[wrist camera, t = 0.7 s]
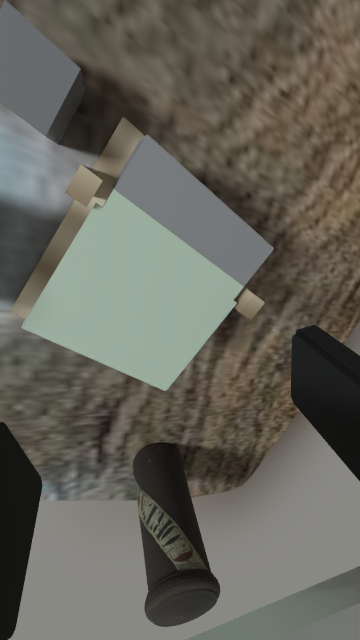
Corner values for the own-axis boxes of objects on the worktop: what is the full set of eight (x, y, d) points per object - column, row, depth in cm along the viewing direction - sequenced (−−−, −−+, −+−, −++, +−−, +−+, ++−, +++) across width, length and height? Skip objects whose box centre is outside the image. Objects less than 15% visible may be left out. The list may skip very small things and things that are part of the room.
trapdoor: (133, 137, 23) (140, 128, 18) (251, 240, 29) (278, 252, 24) (34, 302, 27) (20, 327, 22) (157, 362, 33) (165, 391, 28)
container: (159, 433, 47) (193, 586, 29) (191, 456, 51) (237, 601, 34) (119, 463, 48) (129, 629, 30) (154, 483, 52) (180, 638, 35)
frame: (119, 115, 27) (129, 78, 17) (246, 228, 35) (308, 251, 24) (8, 307, 32) (-37, 371, 22) (140, 368, 40) (153, 436, 30)
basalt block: (29, 44, 24) (4, -1, 18) (85, 93, 26) (80, 68, 20) (2, 102, 25) (-30, 79, 19) (58, 144, 27) (45, 136, 21)
